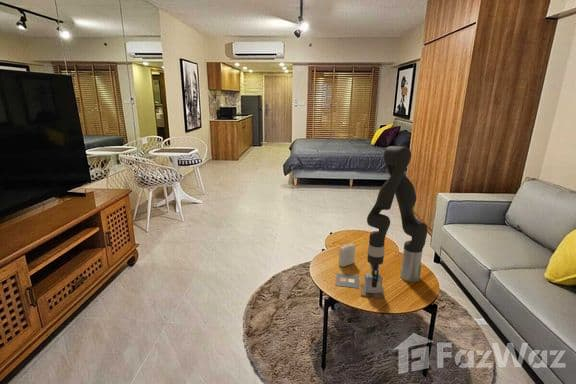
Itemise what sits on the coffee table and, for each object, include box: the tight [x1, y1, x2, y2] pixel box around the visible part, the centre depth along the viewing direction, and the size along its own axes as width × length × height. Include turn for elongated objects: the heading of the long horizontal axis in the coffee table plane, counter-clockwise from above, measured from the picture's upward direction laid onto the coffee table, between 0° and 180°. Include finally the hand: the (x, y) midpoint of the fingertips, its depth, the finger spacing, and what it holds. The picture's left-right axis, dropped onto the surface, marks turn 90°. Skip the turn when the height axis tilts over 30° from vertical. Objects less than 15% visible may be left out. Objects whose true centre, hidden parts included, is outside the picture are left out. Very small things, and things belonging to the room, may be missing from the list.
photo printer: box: [338, 243, 356, 268], centre depth 181 cm, size 10×4×12 cm, turn 123°
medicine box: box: [363, 273, 383, 293], centre depth 154 cm, size 8×4×9 cm, turn 89°
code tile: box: [334, 272, 360, 289], centre depth 166 cm, size 12×12×1 cm
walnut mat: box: [360, 284, 385, 300], centre depth 156 cm, size 11×9×1 cm
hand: (373, 282), depth 154 cm, fingers open, 8 cm apart
